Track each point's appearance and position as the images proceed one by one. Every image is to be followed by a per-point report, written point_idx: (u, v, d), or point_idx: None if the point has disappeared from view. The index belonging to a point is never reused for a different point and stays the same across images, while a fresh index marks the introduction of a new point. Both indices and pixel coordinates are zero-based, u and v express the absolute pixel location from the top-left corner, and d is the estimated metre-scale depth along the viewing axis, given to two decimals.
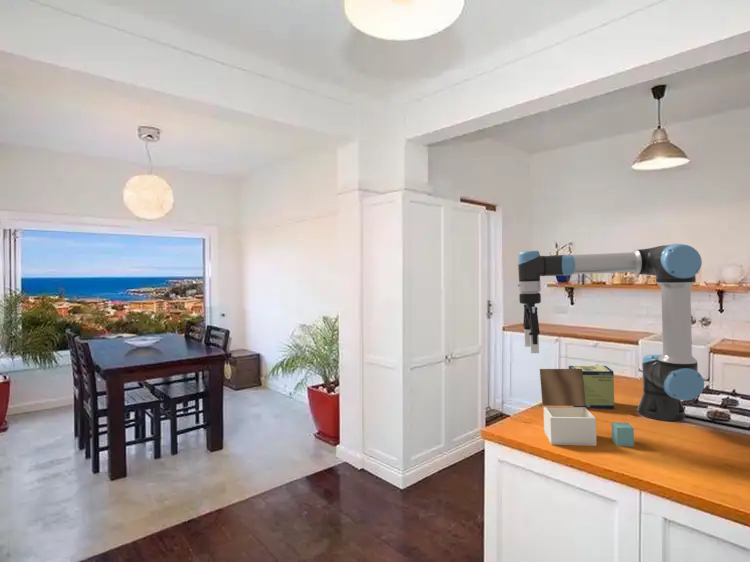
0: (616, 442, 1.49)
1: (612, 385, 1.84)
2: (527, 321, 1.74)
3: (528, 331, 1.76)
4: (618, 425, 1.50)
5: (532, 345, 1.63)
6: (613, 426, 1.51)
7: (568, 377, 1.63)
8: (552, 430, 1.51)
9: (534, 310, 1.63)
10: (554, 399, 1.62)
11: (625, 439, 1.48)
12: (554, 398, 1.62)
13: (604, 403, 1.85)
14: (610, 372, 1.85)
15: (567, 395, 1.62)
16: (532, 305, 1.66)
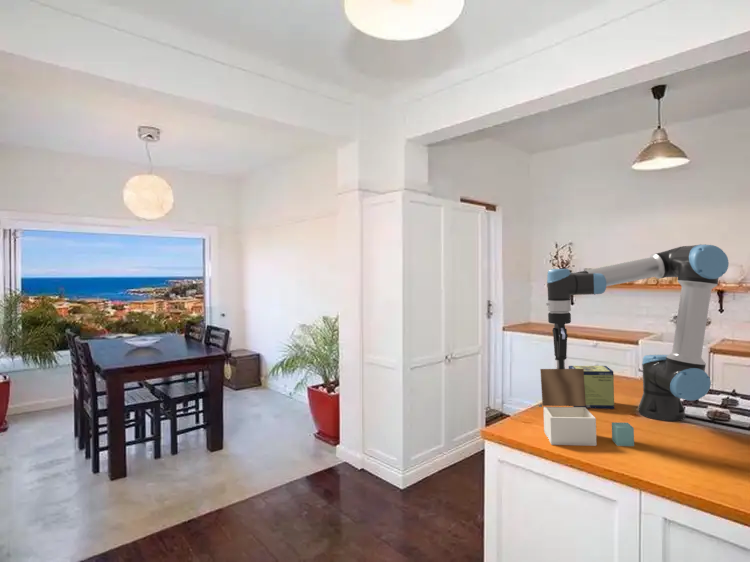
0: (616, 442, 1.49)
1: (612, 385, 1.84)
2: None
3: None
4: (618, 425, 1.50)
5: None
6: (613, 426, 1.51)
7: (569, 377, 1.62)
8: (552, 430, 1.51)
9: (564, 337, 1.58)
10: (554, 399, 1.62)
11: (625, 439, 1.48)
12: (554, 399, 1.62)
13: (604, 403, 1.85)
14: (610, 372, 1.85)
15: (567, 395, 1.61)
16: (562, 325, 1.60)
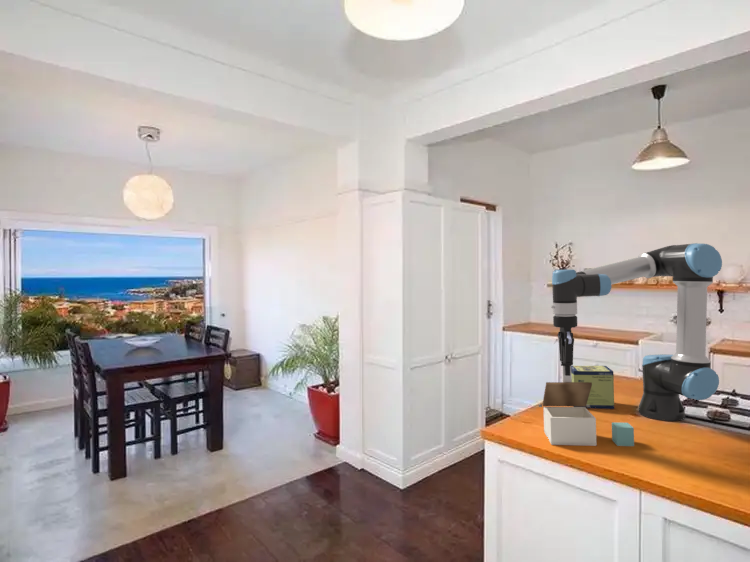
0: (616, 442, 1.49)
1: (612, 385, 1.84)
2: None
3: None
4: (618, 425, 1.50)
5: (564, 376, 1.55)
6: (613, 426, 1.51)
7: (575, 389, 1.54)
8: (552, 430, 1.51)
9: (570, 342, 1.49)
10: (555, 402, 1.60)
11: (625, 439, 1.48)
12: (555, 402, 1.60)
13: (604, 403, 1.85)
14: (610, 372, 1.85)
15: (569, 400, 1.59)
16: (568, 329, 1.51)
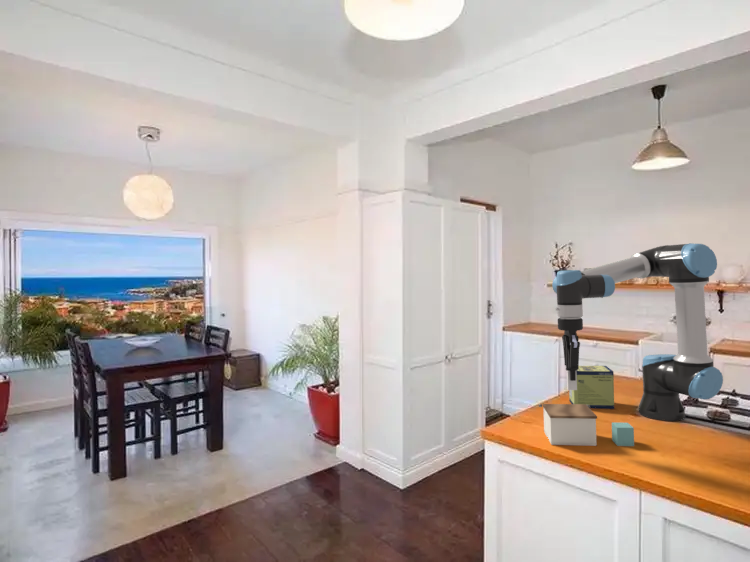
0: (616, 442, 1.49)
1: (612, 385, 1.84)
2: None
3: None
4: (618, 425, 1.50)
5: (569, 381, 1.49)
6: (613, 426, 1.51)
7: None
8: (552, 430, 1.51)
9: (576, 346, 1.43)
10: None
11: (625, 439, 1.48)
12: None
13: (604, 403, 1.85)
14: (610, 372, 1.85)
15: None
16: (573, 332, 1.45)
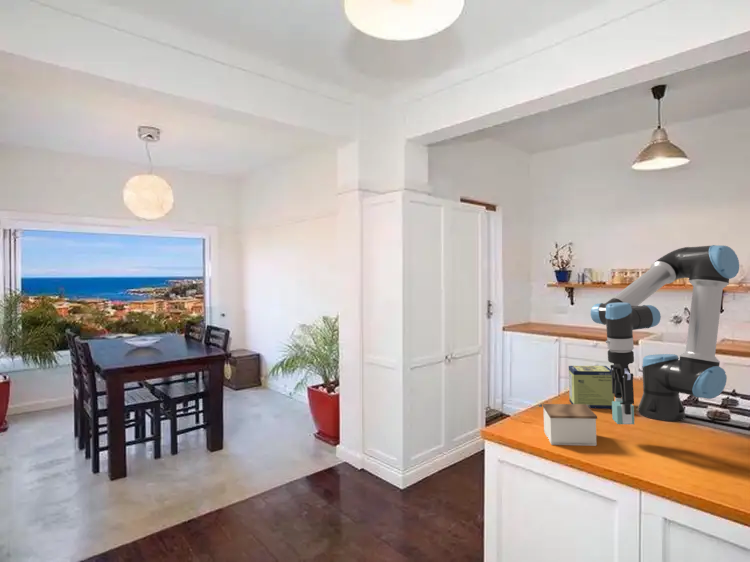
0: (616, 420, 1.49)
1: None
2: (618, 385, 1.52)
3: (620, 400, 1.52)
4: (618, 404, 1.50)
5: (624, 415, 1.47)
6: (613, 405, 1.51)
7: None
8: (552, 430, 1.51)
9: (630, 378, 1.43)
10: None
11: None
12: None
13: (604, 403, 1.85)
14: (610, 372, 1.85)
15: None
16: (625, 366, 1.46)
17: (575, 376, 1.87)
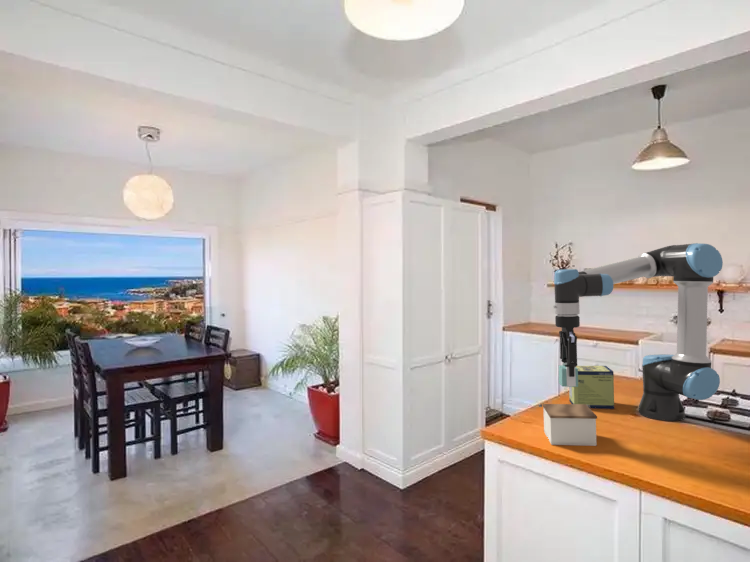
0: (561, 383, 1.53)
1: (612, 385, 1.84)
2: (565, 350, 1.56)
3: (566, 364, 1.57)
4: (564, 367, 1.54)
5: (568, 377, 1.51)
6: (559, 368, 1.56)
7: None
8: (552, 430, 1.51)
9: (573, 340, 1.48)
10: None
11: None
12: None
13: (604, 403, 1.85)
14: (610, 372, 1.85)
15: None
16: (571, 329, 1.50)
17: None
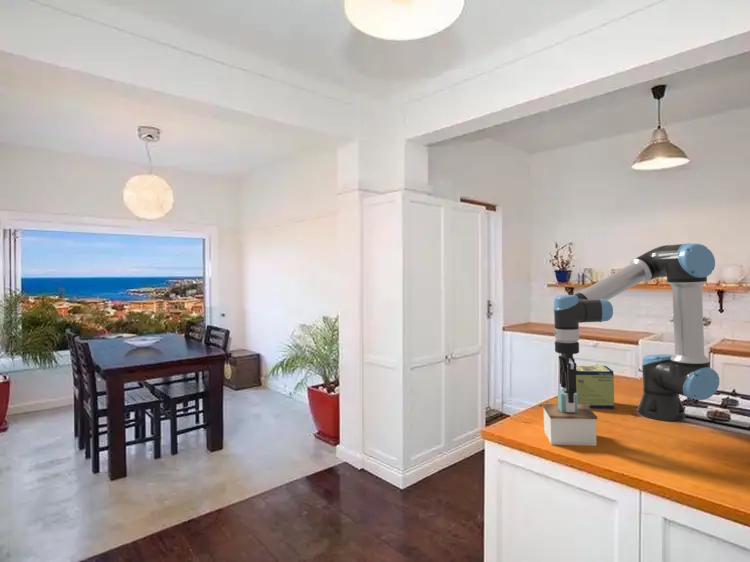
0: (561, 409, 1.54)
1: (612, 385, 1.84)
2: (564, 375, 1.57)
3: (566, 390, 1.57)
4: (563, 392, 1.55)
5: (567, 403, 1.52)
6: (559, 394, 1.56)
7: None
8: (552, 430, 1.51)
9: (573, 367, 1.48)
10: None
11: None
12: None
13: (604, 403, 1.85)
14: (610, 372, 1.85)
15: None
16: (570, 356, 1.51)
17: None
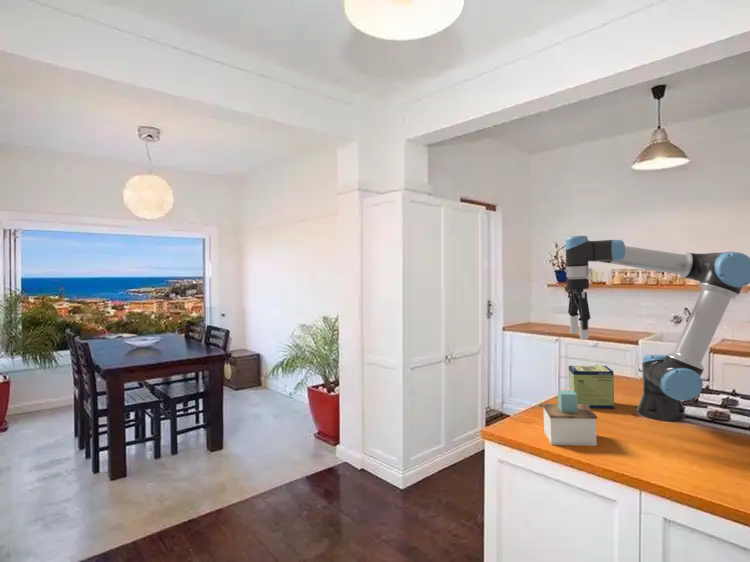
0: (561, 408, 1.54)
1: (612, 385, 1.84)
2: (573, 307, 1.73)
3: (574, 317, 1.75)
4: (563, 392, 1.55)
5: (582, 331, 1.61)
6: (559, 393, 1.56)
7: None
8: (552, 430, 1.51)
9: (584, 295, 1.61)
10: None
11: (569, 406, 1.52)
12: None
13: (604, 403, 1.85)
14: (610, 372, 1.85)
15: None
16: (581, 290, 1.64)
17: (575, 376, 1.87)
